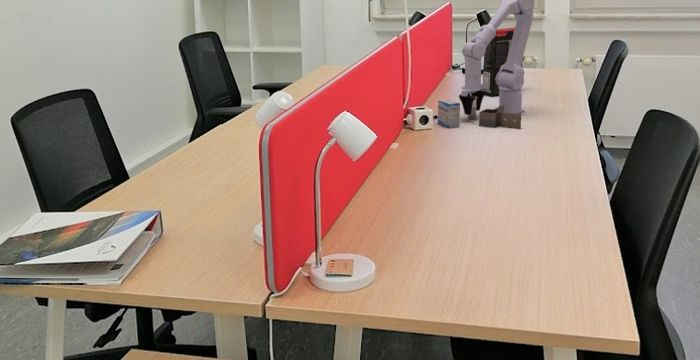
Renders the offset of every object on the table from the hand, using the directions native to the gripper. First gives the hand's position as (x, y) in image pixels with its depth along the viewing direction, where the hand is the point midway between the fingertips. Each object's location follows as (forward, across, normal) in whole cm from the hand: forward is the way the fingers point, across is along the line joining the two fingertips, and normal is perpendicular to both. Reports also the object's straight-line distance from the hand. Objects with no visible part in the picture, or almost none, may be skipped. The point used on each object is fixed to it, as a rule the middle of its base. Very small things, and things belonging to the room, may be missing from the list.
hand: (472, 112), depth 280 cm
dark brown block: (+2, +2, +10) cm, 10 cm away
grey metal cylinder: (+2, 0, 0) cm, 2 cm away
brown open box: (+2, +6, +14) cm, 15 cm away
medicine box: (+3, +13, -3) cm, 14 cm away
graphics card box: (+3, -49, -9) cm, 50 cm away
